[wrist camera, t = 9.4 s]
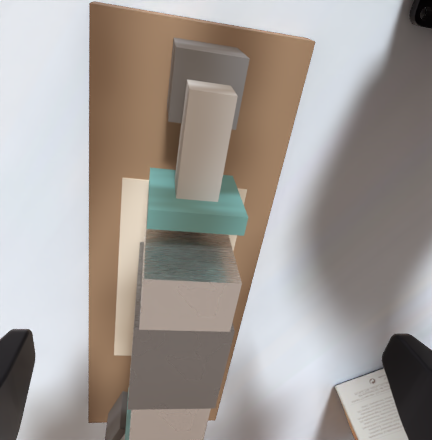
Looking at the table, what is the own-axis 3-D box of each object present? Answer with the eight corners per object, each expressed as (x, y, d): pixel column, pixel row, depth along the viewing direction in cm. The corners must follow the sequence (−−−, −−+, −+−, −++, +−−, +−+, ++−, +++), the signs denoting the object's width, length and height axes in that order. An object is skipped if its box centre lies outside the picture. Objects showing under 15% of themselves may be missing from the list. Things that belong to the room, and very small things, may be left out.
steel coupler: (197, 345, 25) (207, 439, 20) (131, 343, 24) (124, 442, 19) (224, 205, 20) (246, 283, 15) (143, 198, 19) (137, 278, 14)
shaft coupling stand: (306, 38, 17) (371, 64, 12) (213, 405, 30) (224, 496, 25) (93, 1, 16) (60, 13, 10) (91, 406, 29) (75, 505, 23)
